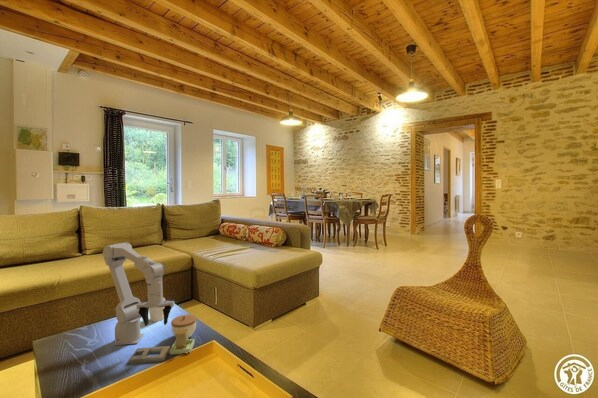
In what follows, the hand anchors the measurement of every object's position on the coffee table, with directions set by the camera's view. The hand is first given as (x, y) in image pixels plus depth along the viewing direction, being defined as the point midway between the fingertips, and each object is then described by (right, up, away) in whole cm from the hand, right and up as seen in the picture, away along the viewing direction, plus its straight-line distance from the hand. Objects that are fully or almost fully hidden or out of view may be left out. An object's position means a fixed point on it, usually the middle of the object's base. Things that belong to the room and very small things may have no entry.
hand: (156, 324), depth 124 cm
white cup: (-14, -10, +29) cm, 33 cm away
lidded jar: (+8, -10, +10) cm, 17 cm away
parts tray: (+11, -10, 0) cm, 15 cm away
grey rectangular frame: (0, -11, -6) cm, 12 cm away
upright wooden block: (+11, -10, 0) cm, 15 cm away
